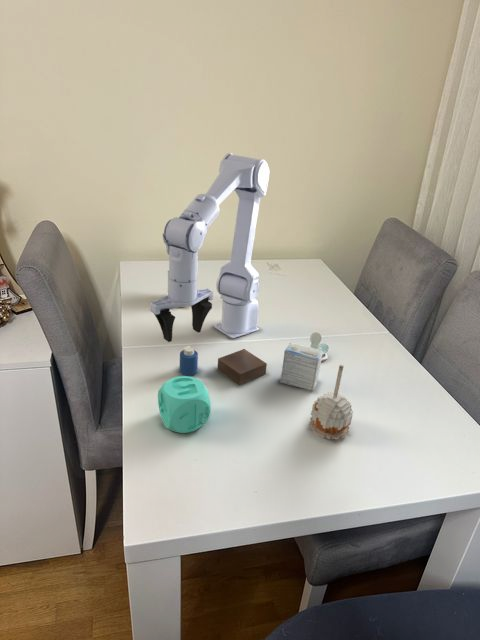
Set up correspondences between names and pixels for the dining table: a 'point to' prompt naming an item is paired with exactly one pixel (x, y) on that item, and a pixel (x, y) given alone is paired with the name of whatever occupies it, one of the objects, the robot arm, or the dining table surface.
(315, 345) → the pacifier
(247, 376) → the walnut block
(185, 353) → the blue bottle
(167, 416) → the decorative dice
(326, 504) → the dining table surface
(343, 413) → the caramel apple
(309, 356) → the medicine box
